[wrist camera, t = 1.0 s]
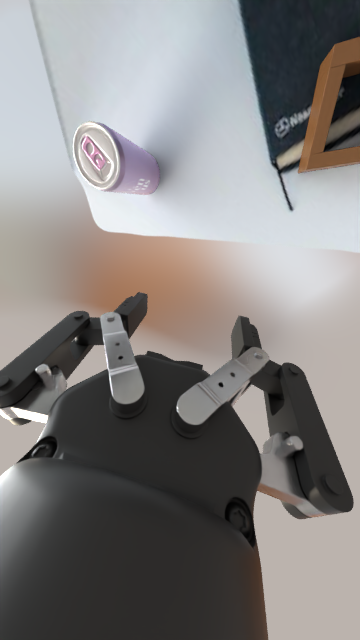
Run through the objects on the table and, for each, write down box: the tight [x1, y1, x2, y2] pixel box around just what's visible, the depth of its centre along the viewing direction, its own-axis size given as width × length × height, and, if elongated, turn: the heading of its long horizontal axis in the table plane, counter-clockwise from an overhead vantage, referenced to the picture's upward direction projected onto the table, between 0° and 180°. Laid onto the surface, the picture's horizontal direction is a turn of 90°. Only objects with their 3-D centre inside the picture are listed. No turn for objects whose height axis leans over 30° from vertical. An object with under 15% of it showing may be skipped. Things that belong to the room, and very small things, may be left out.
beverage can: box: [73, 121, 160, 195], centre depth 25 cm, size 6×6×15 cm
